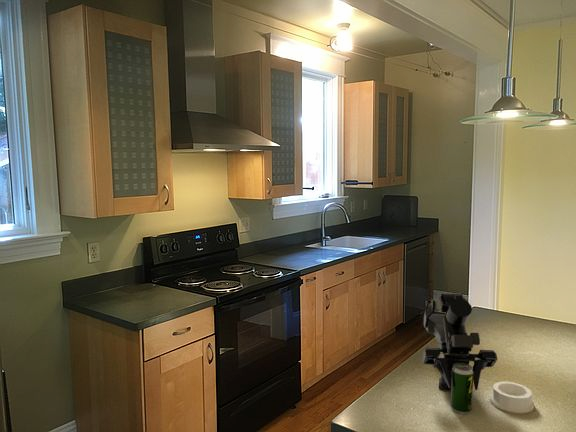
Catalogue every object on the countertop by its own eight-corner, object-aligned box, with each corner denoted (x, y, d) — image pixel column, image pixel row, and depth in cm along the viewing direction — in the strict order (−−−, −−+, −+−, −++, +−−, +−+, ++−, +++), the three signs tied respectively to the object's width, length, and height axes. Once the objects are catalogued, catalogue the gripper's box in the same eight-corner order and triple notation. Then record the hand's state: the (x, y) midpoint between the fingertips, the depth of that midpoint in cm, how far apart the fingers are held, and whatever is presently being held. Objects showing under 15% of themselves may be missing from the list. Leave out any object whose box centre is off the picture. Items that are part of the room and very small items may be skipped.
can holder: (488, 391, 138) (489, 378, 138) (531, 397, 134) (531, 383, 134) (490, 409, 128) (491, 395, 127) (536, 417, 124) (537, 402, 124)
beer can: (450, 412, 127) (451, 369, 125) (451, 402, 131) (452, 361, 130) (471, 416, 125) (473, 372, 123) (471, 406, 130) (473, 364, 128)
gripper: (425, 319, 130) (431, 375, 121) (497, 321, 128) (508, 379, 118) (420, 336, 139) (425, 390, 129) (487, 339, 137) (497, 394, 127)
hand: (463, 388), depth 126 cm, fingers open, 6 cm apart
